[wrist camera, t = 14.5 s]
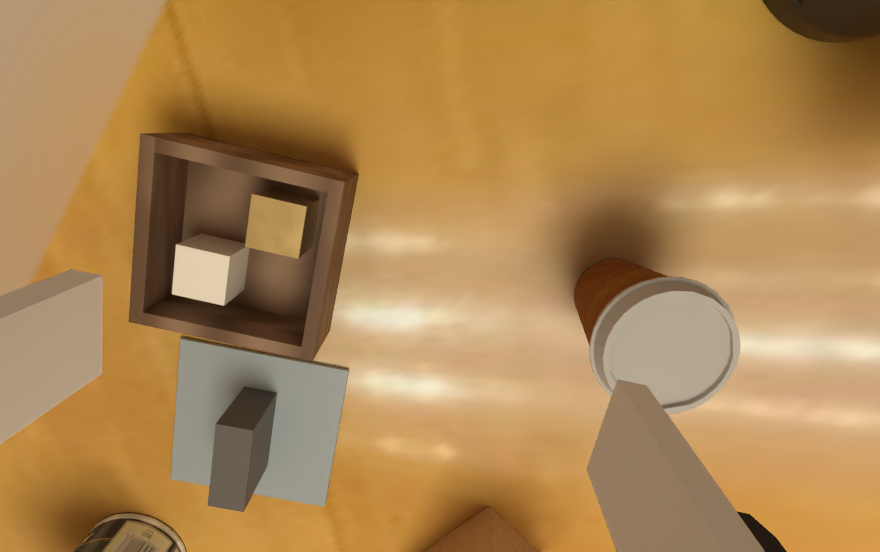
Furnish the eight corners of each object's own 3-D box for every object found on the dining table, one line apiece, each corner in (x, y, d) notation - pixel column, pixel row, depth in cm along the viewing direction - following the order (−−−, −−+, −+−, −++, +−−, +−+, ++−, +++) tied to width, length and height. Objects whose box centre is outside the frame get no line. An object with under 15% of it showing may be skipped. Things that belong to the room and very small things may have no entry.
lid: (350, 366, 46) (334, 406, 39) (326, 499, 50) (308, 556, 43) (185, 334, 45) (141, 370, 38) (175, 472, 49) (133, 526, 43)
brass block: (320, 199, 40) (306, 206, 36) (312, 246, 41) (298, 258, 37) (270, 187, 40) (251, 193, 36) (263, 235, 41) (244, 246, 37)
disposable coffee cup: (636, 218, 41) (710, 253, 30) (684, 310, 43) (771, 376, 32) (534, 277, 43) (568, 333, 31) (587, 363, 45) (636, 444, 34)
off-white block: (250, 244, 41) (229, 256, 37) (244, 289, 42) (224, 305, 38) (201, 233, 41) (175, 244, 37) (196, 278, 42) (171, 294, 38)
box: (358, 174, 40) (344, 182, 35) (329, 330, 44) (312, 361, 39) (184, 132, 40) (140, 133, 34) (170, 296, 43) (128, 321, 38)
